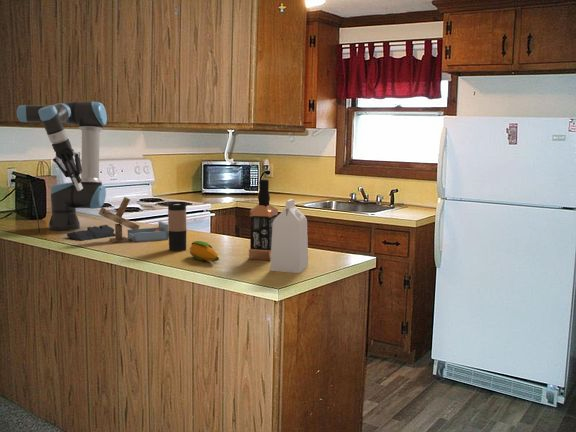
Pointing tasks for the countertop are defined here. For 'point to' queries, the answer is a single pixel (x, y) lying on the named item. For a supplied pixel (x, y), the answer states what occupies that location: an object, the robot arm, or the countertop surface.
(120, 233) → the fulcrum
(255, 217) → the whiskey bottle
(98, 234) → the dark slate chunk
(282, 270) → the milk
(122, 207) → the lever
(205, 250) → the corn
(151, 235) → the bin
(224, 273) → the countertop surface
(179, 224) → the travel mug
